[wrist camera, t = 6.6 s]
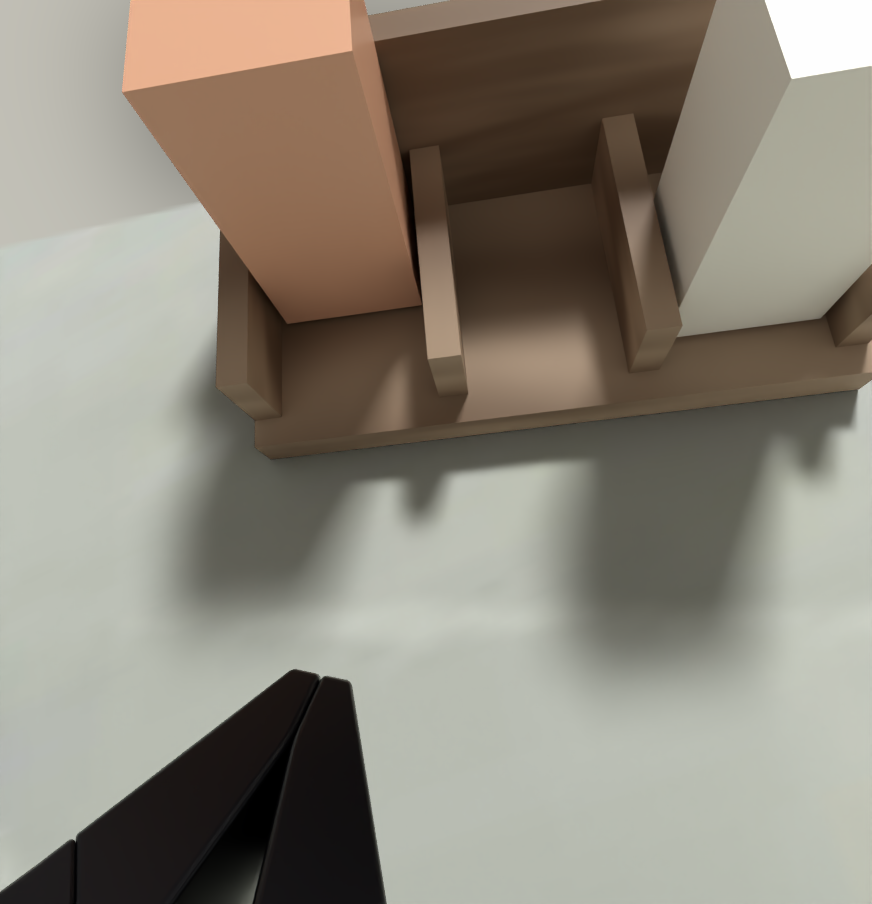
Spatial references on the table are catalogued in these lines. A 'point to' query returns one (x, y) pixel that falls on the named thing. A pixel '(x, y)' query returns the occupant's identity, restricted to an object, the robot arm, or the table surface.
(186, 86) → the light orange tall block
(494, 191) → the wooden desk organizer
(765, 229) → the white tall block
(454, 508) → the table surface
